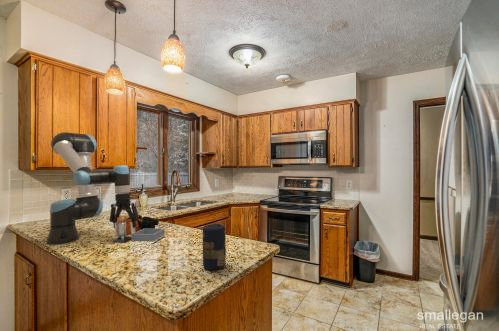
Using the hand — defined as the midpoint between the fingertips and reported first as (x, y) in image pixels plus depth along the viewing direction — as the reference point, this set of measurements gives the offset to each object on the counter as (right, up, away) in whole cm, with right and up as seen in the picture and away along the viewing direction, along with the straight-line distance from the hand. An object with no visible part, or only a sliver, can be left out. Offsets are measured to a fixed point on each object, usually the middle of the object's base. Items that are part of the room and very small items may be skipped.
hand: (125, 233), depth 138 cm
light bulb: (-2, -4, 0) cm, 4 cm away
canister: (+55, -4, -35) cm, 65 cm away
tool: (0, -5, +19) cm, 20 cm away
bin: (+11, -5, +4) cm, 13 cm away
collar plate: (-2, -5, 0) cm, 5 cm away
